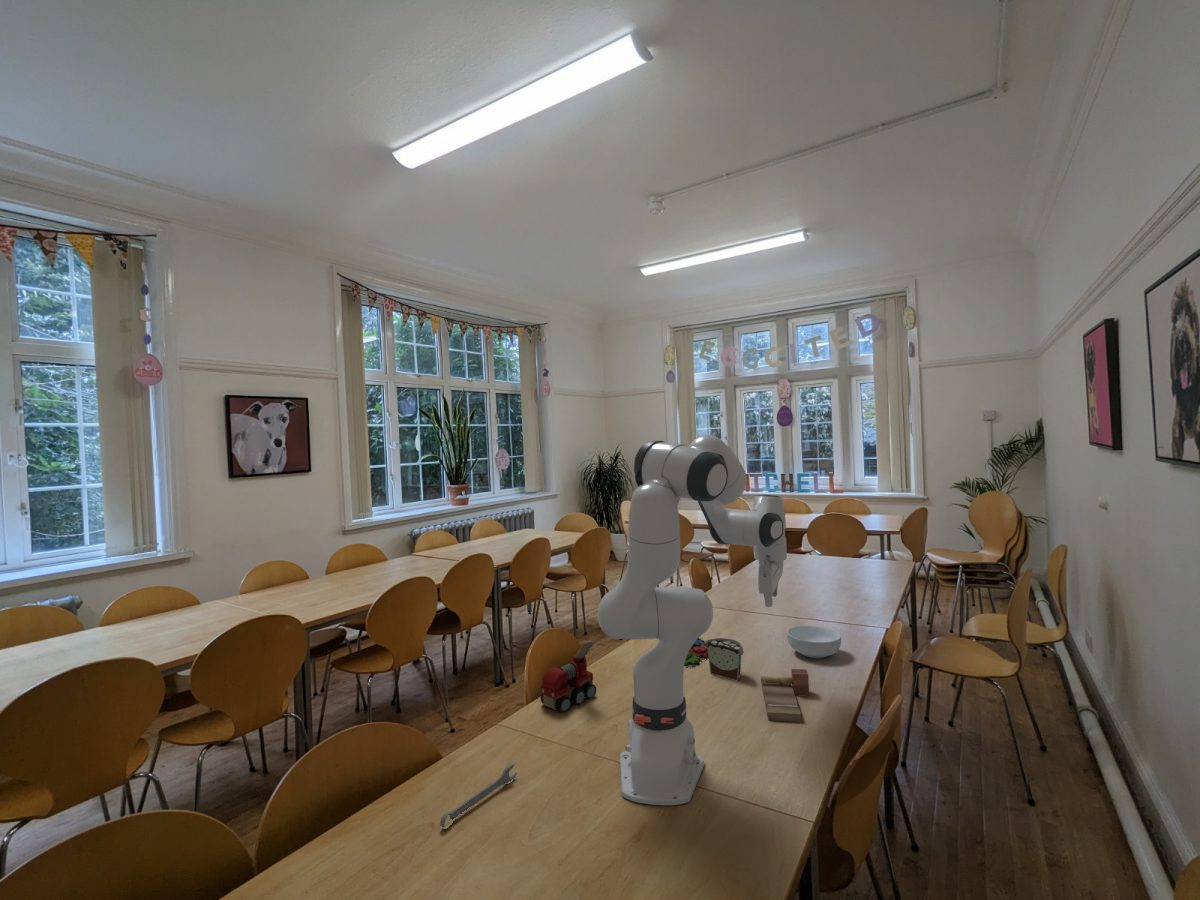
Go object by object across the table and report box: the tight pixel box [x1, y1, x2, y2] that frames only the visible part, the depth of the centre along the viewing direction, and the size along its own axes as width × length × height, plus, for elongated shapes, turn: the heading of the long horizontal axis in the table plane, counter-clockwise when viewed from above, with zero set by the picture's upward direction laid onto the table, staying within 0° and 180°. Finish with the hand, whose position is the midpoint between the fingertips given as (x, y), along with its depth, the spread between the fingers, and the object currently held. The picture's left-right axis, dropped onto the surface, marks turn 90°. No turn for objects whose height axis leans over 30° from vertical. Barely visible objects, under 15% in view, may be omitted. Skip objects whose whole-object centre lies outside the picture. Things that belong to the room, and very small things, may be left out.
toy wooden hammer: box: [760, 668, 810, 697], centre depth 156 cm, size 4×13×6 cm, turn 78°
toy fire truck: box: [540, 639, 597, 713], centre depth 155 cm, size 11×16×18 cm
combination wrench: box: [439, 763, 518, 827], centre depth 112 cm, size 4×1×20 cm
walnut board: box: [761, 683, 802, 723], centre depth 150 cm, size 20×8×2 cm, turn 168°
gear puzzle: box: [684, 637, 708, 668], centre depth 185 cm, size 31×16×4 cm, turn 138°
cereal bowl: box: [786, 625, 842, 659], centre depth 183 cm, size 17×17×7 cm
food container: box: [705, 637, 745, 682], centre depth 170 cm, size 12×6×10 cm, turn 47°
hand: (771, 600), depth 155 cm, fingers open, 8 cm apart
